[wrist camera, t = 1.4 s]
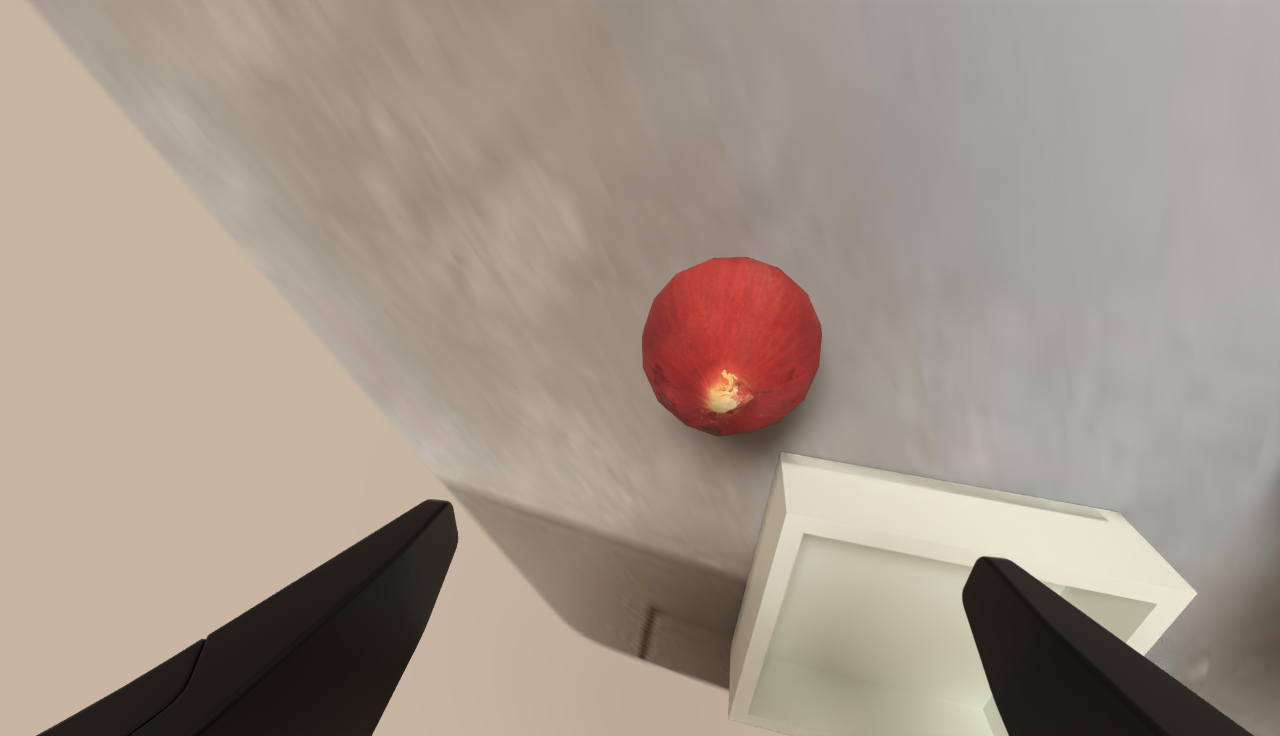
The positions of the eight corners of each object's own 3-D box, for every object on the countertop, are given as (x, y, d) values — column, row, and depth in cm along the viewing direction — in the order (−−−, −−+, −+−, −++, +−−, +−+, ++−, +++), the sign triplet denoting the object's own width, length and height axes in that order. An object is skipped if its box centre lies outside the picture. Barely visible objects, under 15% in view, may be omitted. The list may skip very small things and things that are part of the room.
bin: (1118, 512, 20) (1197, 593, 17) (986, 705, 26) (1023, 795, 23) (780, 451, 22) (786, 512, 18) (730, 645, 28) (728, 719, 25)
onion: (770, 394, 21) (782, 528, 14) (643, 349, 21) (591, 458, 14) (833, 266, 18) (888, 352, 11) (687, 216, 18) (649, 268, 11)
